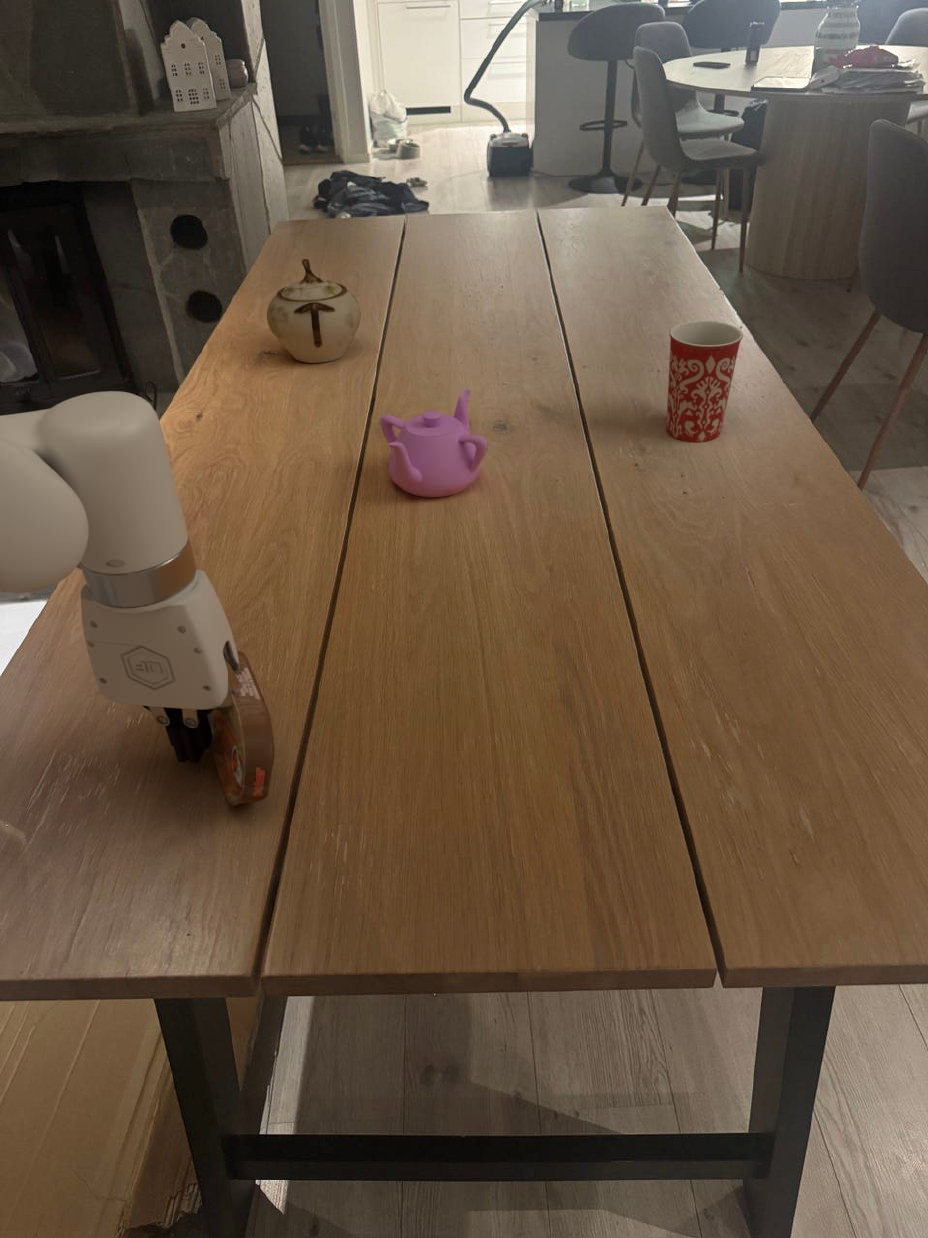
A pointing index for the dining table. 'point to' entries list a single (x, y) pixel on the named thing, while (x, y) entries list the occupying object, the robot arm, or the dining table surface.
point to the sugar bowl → (314, 318)
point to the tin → (243, 741)
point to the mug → (700, 378)
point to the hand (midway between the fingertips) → (195, 750)
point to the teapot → (434, 451)
